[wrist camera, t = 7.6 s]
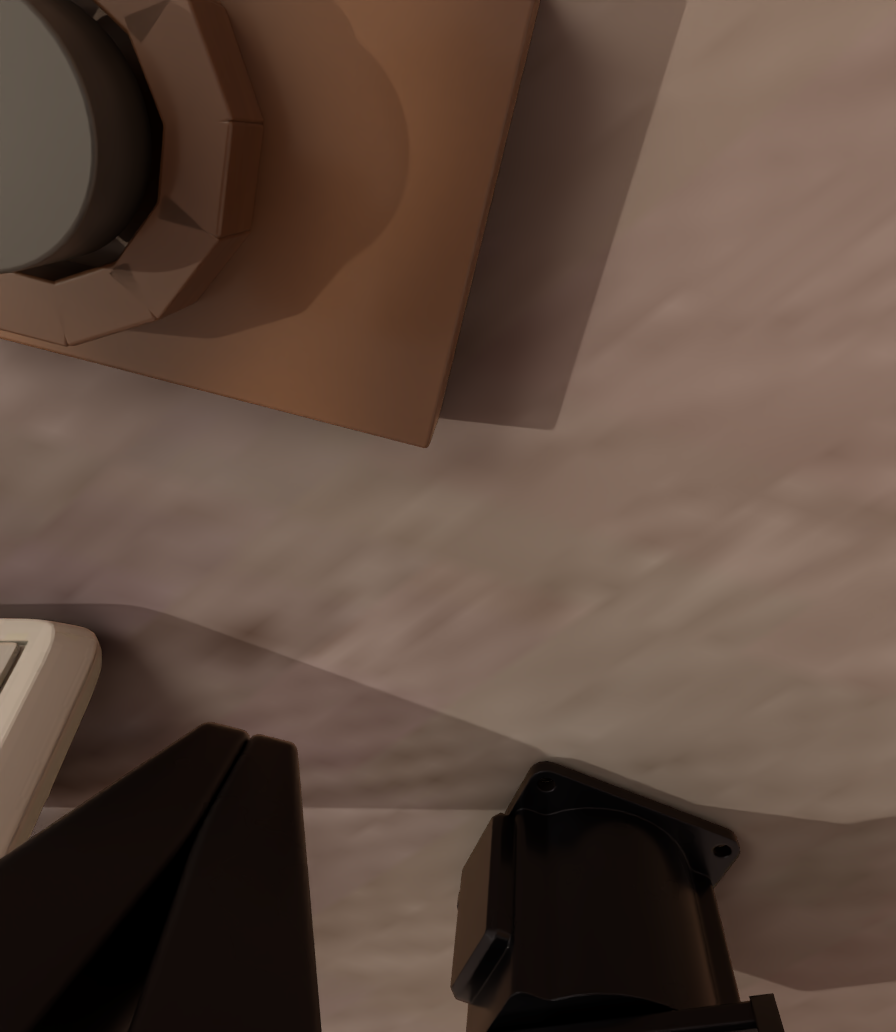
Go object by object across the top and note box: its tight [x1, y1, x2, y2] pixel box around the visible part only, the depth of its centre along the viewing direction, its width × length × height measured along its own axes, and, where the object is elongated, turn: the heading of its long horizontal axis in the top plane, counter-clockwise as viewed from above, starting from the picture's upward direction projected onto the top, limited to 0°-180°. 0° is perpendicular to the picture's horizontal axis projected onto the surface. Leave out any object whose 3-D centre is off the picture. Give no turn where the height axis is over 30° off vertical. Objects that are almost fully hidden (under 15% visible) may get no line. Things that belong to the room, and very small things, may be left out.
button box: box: [0, 0, 540, 448], centre depth 16 cm, size 12×9×4 cm
